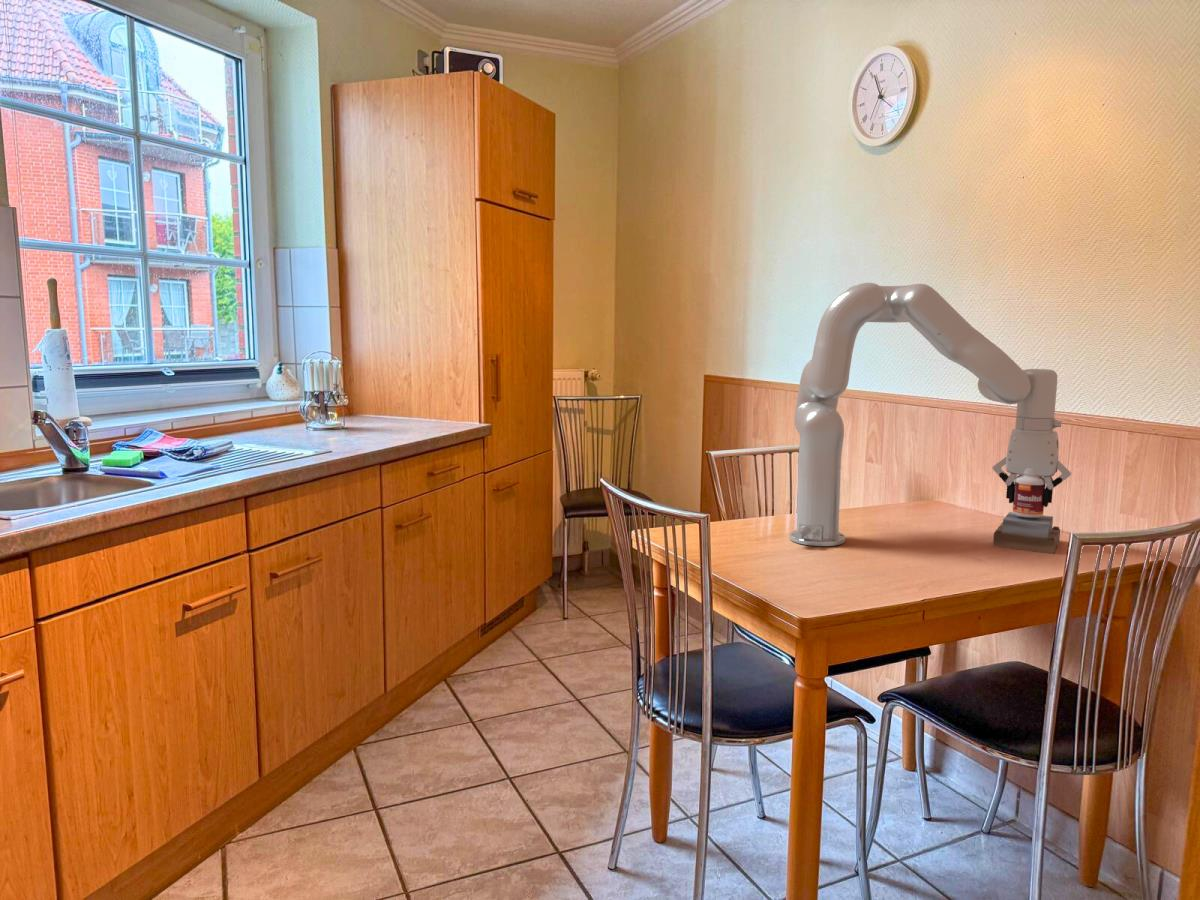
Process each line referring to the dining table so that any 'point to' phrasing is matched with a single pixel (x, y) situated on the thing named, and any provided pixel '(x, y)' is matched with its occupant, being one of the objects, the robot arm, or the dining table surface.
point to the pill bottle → (1029, 495)
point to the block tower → (1027, 533)
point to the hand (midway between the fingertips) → (1028, 503)
